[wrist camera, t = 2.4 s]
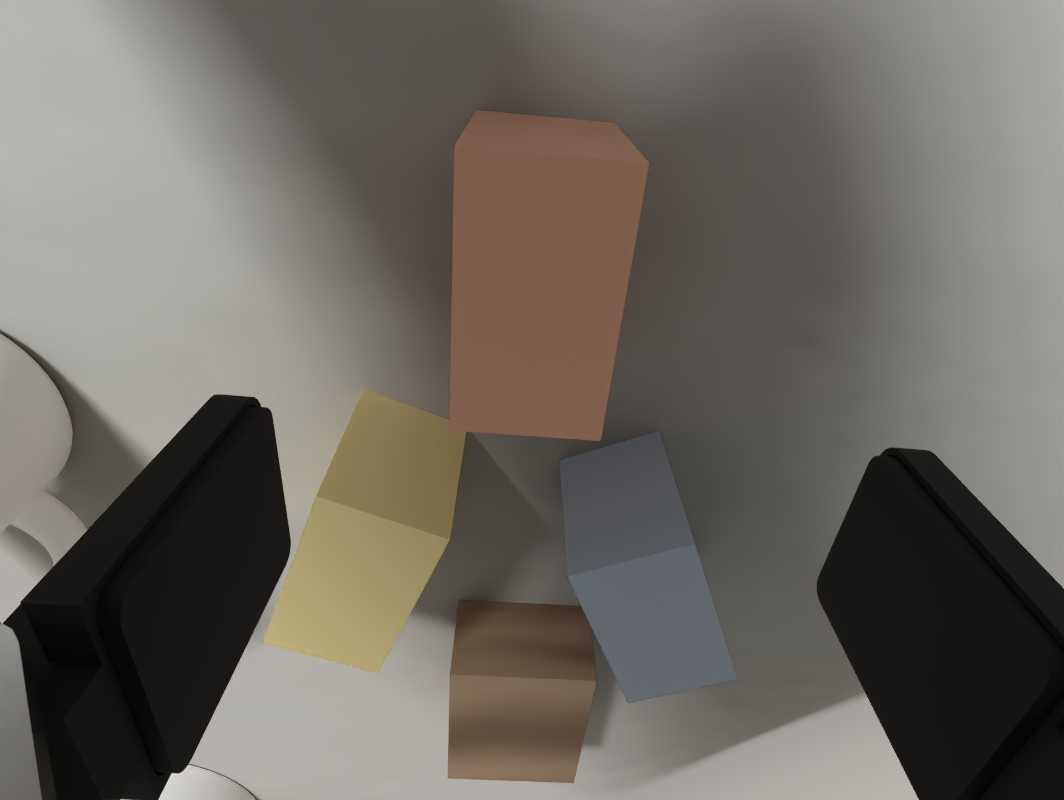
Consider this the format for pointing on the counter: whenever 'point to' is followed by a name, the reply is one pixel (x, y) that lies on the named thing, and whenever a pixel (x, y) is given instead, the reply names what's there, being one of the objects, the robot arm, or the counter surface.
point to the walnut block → (519, 691)
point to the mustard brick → (371, 535)
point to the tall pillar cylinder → (202, 786)
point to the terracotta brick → (539, 271)
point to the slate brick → (640, 570)
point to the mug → (33, 452)
